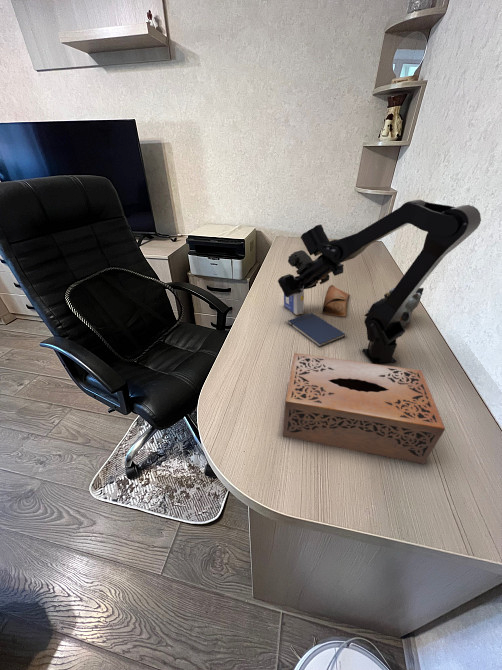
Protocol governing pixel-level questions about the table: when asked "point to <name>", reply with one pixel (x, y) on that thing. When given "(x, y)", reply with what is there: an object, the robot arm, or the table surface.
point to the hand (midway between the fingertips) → (290, 290)
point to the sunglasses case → (335, 302)
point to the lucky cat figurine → (408, 306)
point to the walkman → (295, 302)
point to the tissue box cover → (362, 407)
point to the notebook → (316, 329)
